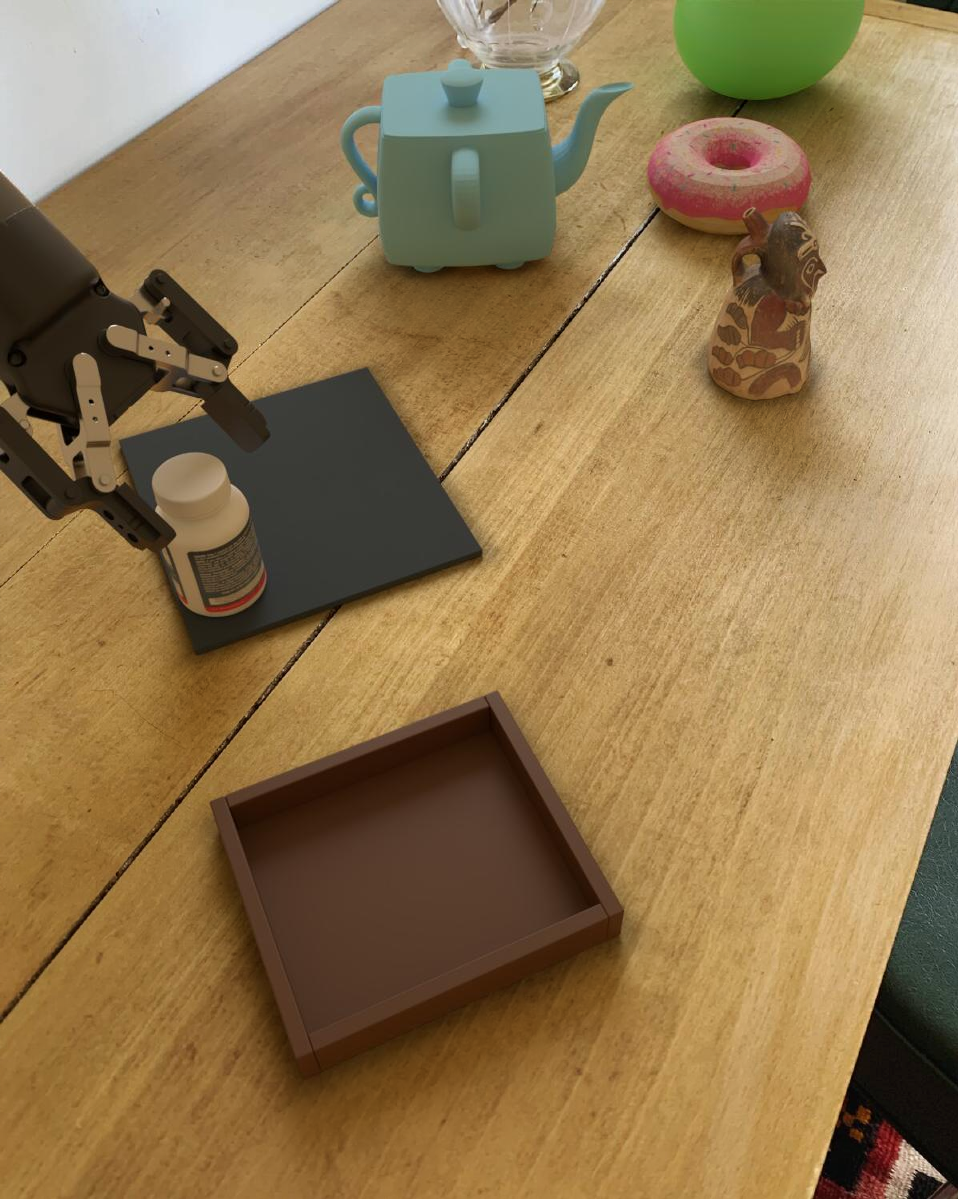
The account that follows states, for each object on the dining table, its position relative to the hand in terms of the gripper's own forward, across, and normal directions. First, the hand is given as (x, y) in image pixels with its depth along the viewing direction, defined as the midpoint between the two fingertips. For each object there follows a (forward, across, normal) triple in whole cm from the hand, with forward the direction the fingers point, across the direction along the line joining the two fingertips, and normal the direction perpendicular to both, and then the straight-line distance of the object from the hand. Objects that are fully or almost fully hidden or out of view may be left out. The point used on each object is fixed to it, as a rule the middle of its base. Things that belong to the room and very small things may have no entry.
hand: (215, 492), depth 59 cm
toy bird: (+11, +76, +1) cm, 76 cm away
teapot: (+3, +41, +9) cm, 42 cm away
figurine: (+21, +34, -8) cm, 41 cm away
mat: (+5, +8, +8) cm, 12 cm away
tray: (+19, -11, -6) cm, 23 cm away
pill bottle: (+5, 0, +7) cm, 9 cm away
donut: (+14, +54, -2) cm, 56 cm away
